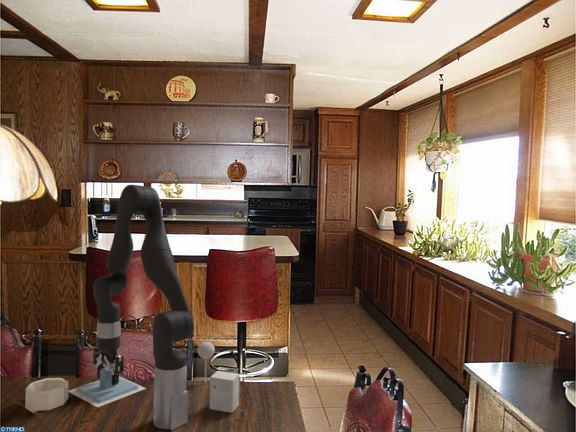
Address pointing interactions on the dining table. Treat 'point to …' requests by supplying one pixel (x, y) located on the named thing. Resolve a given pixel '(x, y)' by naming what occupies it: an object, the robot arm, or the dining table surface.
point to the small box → (224, 391)
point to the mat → (107, 400)
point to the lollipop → (206, 352)
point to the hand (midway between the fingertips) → (107, 381)
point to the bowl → (46, 394)
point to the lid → (106, 387)
